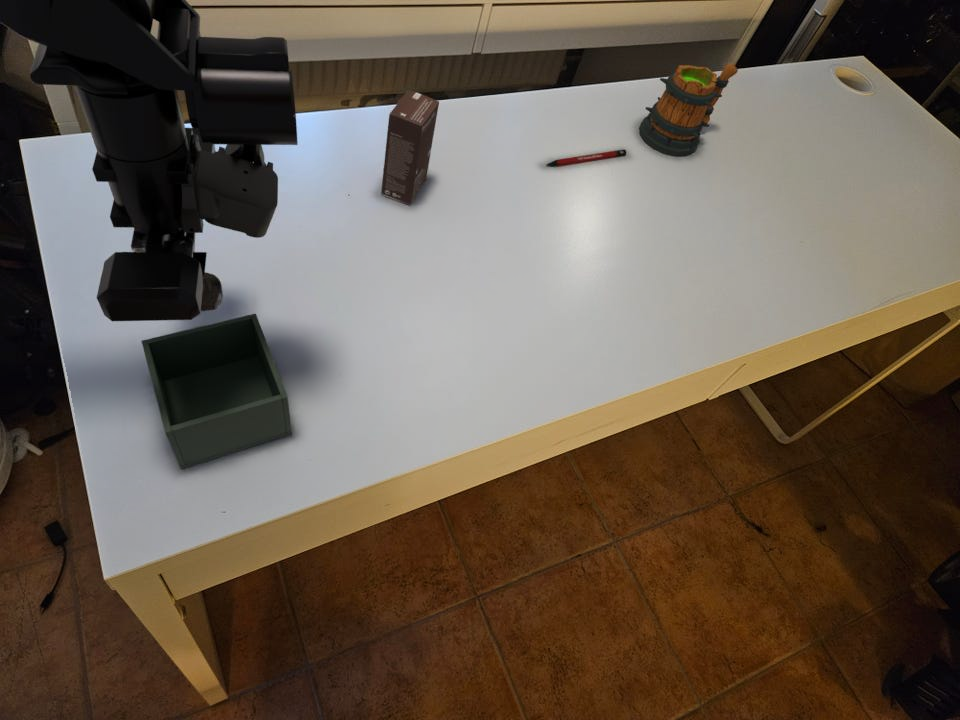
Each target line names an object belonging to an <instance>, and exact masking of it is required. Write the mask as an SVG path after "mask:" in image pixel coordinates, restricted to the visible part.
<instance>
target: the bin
mask: <svg viewBox="0 0 960 720" xmlns="http://www.w3.org/2000/svg"><path fill="white" fill-rule="evenodd" d="M140 341H141V345H142V349H143V351H144V352H143V353H144V357H145V360H146V364H147V369H148V372H149V375H150V380H151V384H152V388H153V391H154V395H155V398H156V402H157V403H156V404H157V407H158V410H159V415H160V418H161V421H162V425H163V429H164V433H165V435H166V437H167V440H168V443H169V444H170V447H171V450H172V452H173V454H174V456H175V459H176V461H177V463H178V466H179V468H180V469H181V470H183V469H186V468H189V467H192V466H196V465H199V464H202V463H205V462H209V461H211V460H214V459H218V458H222V457H225V456H228V455H231V454H234V453H238V452H240V451H243V450H247V449H249V448H253V447H256V446H260V445H262V444H266V443H268V442H273V441H276V440H278V439H281V438H284V437H288V436H290V435H292V434H293V433H292V431H293V430H292V423H291V413H290V406H289V397H288V394H287V392H286V389H285V386H284V384H283V381H282V379H281V375H280V373H279V370H278V368H277V365H276V363H275V361H274V358H273V354H272V352H271V350H270V347H269V344H268V342H267V339H266V336H265V333H264V331H263V329H262V325H261V323H260V321H259V318H258V315H257V313H252V314H246V315H244V316H239V317H234V318H231V319H226V320H222V321H219V322H214V323H210V324H206V325H201V326H197V327H193V328H188V329H184V330H181V331H177V332H172V333H168V334H167V333H166V334H163V335H160V336H155V337H151V338H148V339H143V340H140Z"/></svg>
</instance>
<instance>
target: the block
mask: <svg viewBox="0 0 960 720" xmlns="http://www.w3.org/2000/svg"><path fill="white" fill-rule="evenodd" d="M223 298H224V293H223V286H222V283H221V280H220V279H219V277H218V276H217V275H215V274H213V273H211V272H206V271H205V274H204V277H203V292H202V302H201V312H207V311H208V312H209V311H216V310H217V309H218V308H219V307H220V305H221V304H222V301H223Z"/></svg>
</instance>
